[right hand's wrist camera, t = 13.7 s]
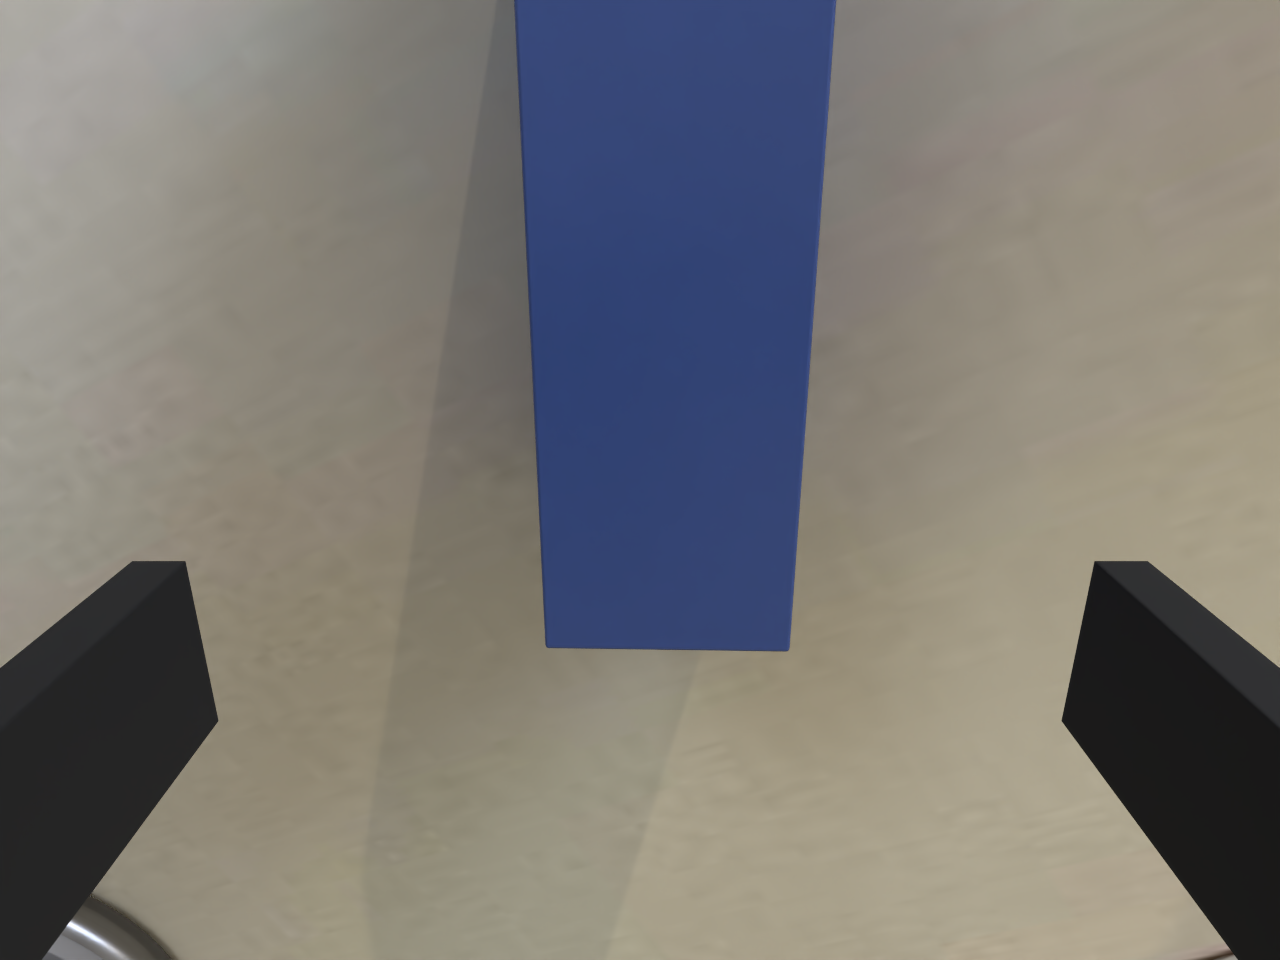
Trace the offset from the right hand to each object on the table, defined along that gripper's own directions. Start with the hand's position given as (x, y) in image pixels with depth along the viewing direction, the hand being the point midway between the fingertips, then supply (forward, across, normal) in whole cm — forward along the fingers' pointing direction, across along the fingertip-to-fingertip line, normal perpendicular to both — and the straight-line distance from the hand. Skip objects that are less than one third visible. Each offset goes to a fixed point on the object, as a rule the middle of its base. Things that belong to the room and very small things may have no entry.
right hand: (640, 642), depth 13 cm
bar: (+16, -1, -8) cm, 17 cm away
